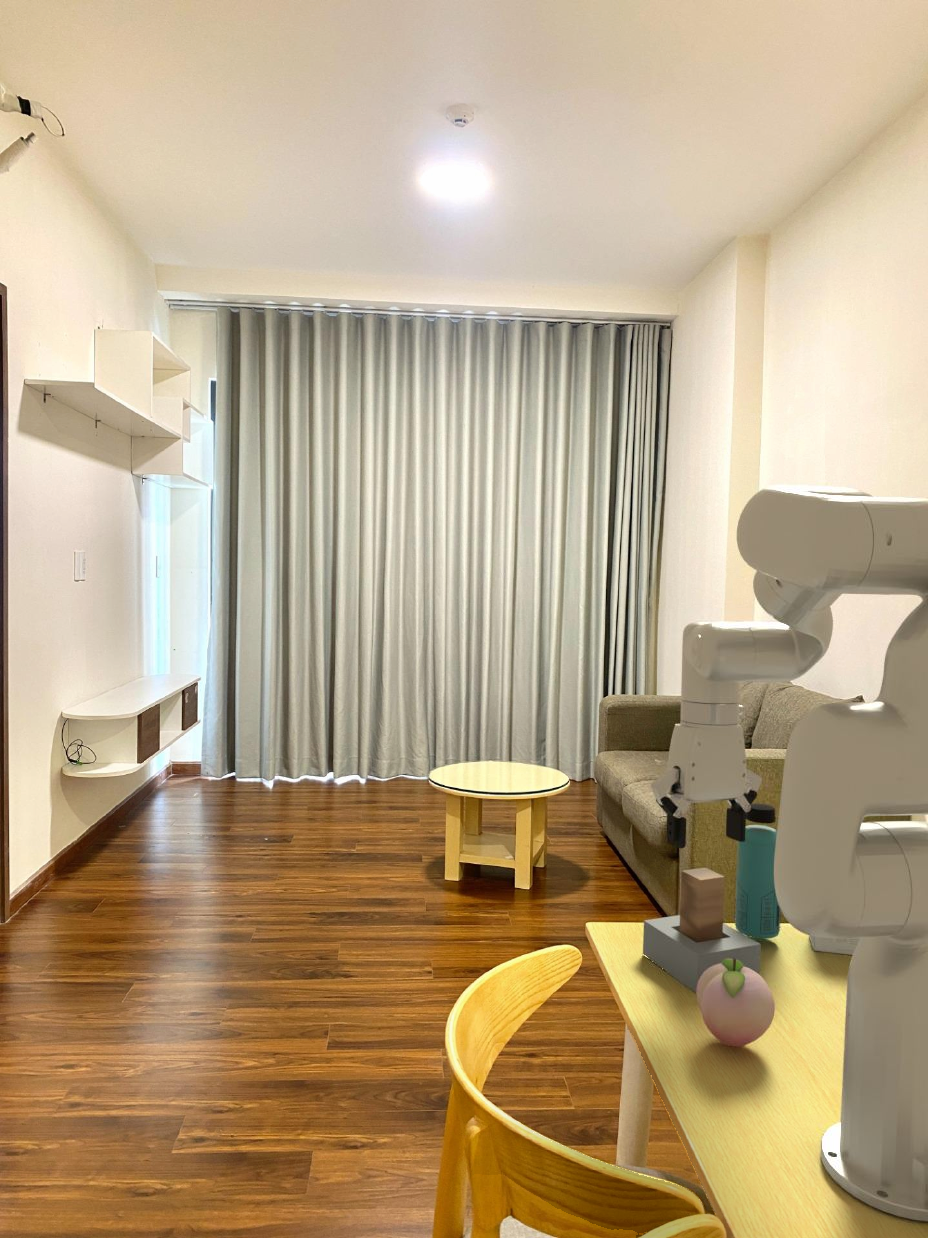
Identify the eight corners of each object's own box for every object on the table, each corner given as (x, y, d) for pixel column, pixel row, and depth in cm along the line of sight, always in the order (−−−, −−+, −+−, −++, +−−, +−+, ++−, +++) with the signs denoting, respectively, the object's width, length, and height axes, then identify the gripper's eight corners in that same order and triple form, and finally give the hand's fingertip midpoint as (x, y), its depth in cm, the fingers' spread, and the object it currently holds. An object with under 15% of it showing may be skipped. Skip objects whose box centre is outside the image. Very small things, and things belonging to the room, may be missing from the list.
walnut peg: (721, 965, 121) (724, 876, 120) (697, 969, 119) (700, 880, 119) (701, 953, 125) (705, 867, 124) (678, 957, 123) (681, 870, 122)
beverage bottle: (783, 951, 128) (789, 812, 127) (734, 946, 130) (740, 809, 129) (776, 934, 135) (782, 801, 134) (730, 929, 136) (735, 798, 135)
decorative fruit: (781, 1071, 97) (785, 980, 96) (703, 1065, 98) (707, 975, 97) (761, 1027, 106) (765, 944, 106) (690, 1022, 107) (693, 940, 106)
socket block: (759, 981, 118) (760, 944, 118) (696, 993, 115) (698, 955, 114) (701, 946, 129) (702, 911, 129) (642, 955, 126) (644, 920, 125)
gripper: (742, 709, 127) (739, 830, 127) (638, 713, 120) (635, 841, 121) (780, 716, 120) (777, 844, 120) (672, 720, 113) (669, 856, 114)
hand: (706, 842), depth 120 cm, fingers open, 9 cm apart
